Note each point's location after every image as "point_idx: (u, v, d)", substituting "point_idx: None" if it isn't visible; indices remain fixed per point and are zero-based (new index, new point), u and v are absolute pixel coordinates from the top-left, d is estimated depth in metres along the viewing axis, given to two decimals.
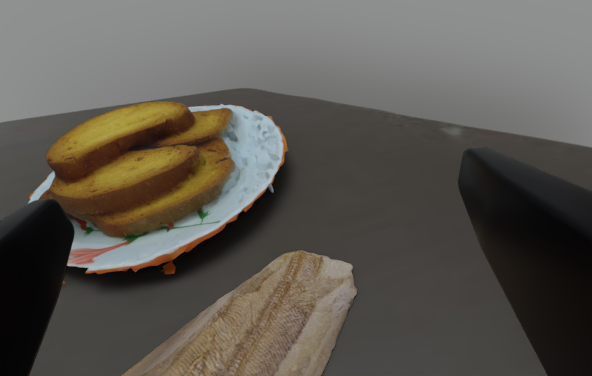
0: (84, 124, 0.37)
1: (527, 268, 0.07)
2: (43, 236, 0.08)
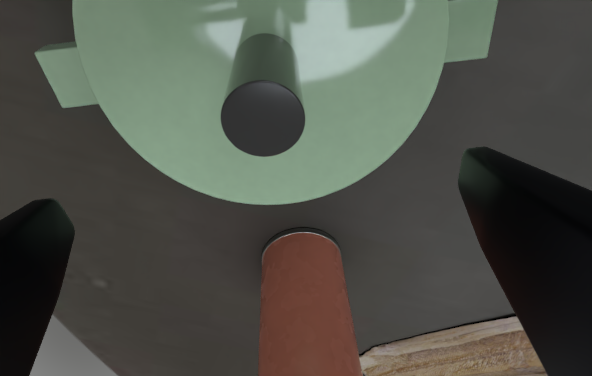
0: None
1: (527, 268, 0.07)
2: (43, 236, 0.08)
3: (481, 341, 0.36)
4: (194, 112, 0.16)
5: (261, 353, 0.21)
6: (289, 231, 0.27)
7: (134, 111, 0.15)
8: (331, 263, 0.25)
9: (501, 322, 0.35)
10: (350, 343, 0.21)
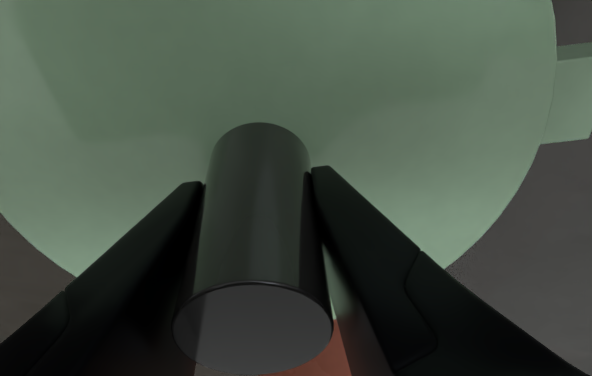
0: None
1: (335, 289, 0.07)
2: None
3: None
4: None
5: None
6: None
7: (62, 227, 0.10)
8: (347, 360, 0.20)
9: None
10: None
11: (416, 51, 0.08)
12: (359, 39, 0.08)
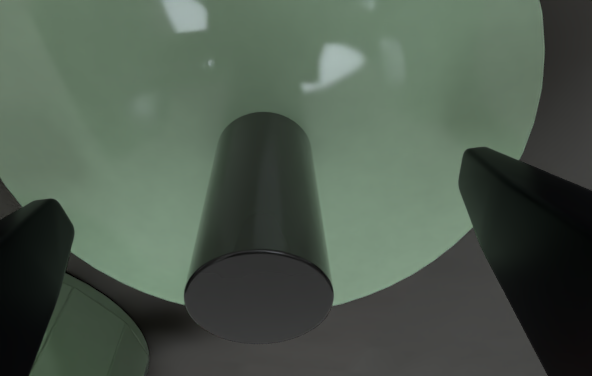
0: None
1: (527, 268, 0.07)
2: (43, 236, 0.08)
3: None
4: (161, 213, 0.11)
5: None
6: None
7: (74, 213, 0.11)
8: None
9: None
10: None
11: (411, 44, 0.08)
12: (358, 32, 0.08)
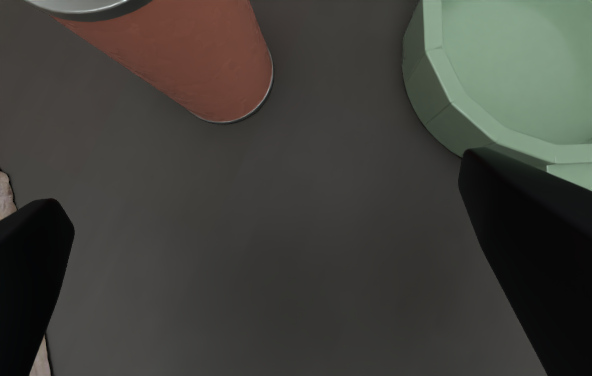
0: None
1: (527, 268, 0.07)
2: (43, 236, 0.08)
3: None
4: None
5: None
6: (272, 60, 0.22)
7: None
8: (249, 93, 0.19)
9: (42, 371, 0.22)
10: (207, 60, 0.14)
11: None
12: None
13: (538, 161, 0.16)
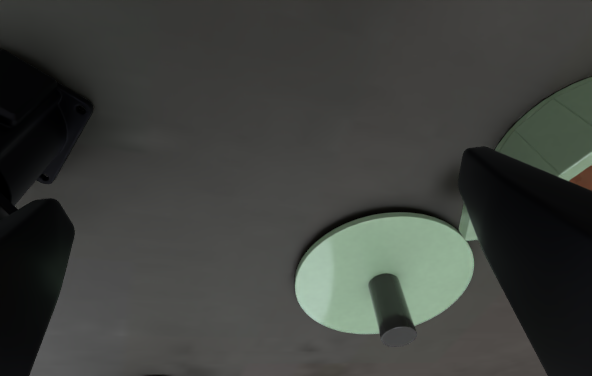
0: None
1: (527, 268, 0.07)
2: (43, 236, 0.08)
3: None
4: (426, 265, 0.28)
5: None
6: None
7: (457, 265, 0.29)
8: None
9: None
10: None
11: (338, 306, 0.31)
12: (352, 308, 0.31)
13: None
